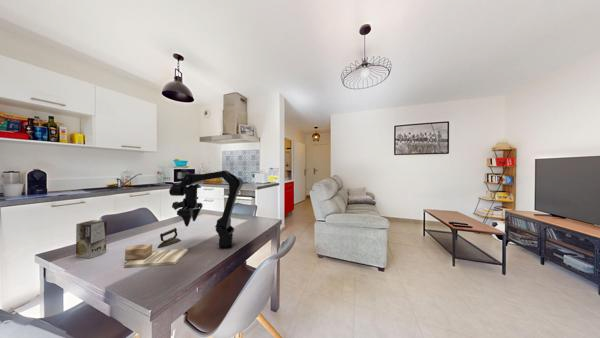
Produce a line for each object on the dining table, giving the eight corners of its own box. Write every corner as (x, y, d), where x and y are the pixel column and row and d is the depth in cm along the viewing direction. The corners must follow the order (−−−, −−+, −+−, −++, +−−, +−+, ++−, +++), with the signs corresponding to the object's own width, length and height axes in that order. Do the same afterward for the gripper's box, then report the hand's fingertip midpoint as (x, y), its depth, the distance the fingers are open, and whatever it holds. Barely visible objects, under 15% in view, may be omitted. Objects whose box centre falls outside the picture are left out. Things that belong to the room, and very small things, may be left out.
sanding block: (152, 254, 85) (152, 244, 86) (145, 259, 81) (145, 248, 81) (133, 255, 84) (133, 245, 84) (124, 260, 79) (125, 249, 79)
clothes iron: (182, 241, 105) (180, 226, 103) (164, 254, 95) (161, 238, 92) (172, 239, 107) (170, 224, 104) (153, 251, 96) (151, 235, 94)
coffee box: (107, 252, 89) (107, 220, 89) (90, 258, 83) (91, 224, 83) (92, 250, 90) (93, 219, 90) (74, 257, 84) (75, 223, 84)
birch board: (187, 250, 92) (187, 248, 92) (175, 264, 79) (175, 261, 79) (144, 253, 88) (144, 251, 88) (123, 267, 76) (123, 265, 76)
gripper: (183, 193, 106) (182, 219, 106) (165, 198, 88) (164, 230, 88) (203, 193, 108) (202, 218, 108) (189, 198, 90) (189, 229, 90)
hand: (190, 223), depth 98 cm, fingers open, 9 cm apart
